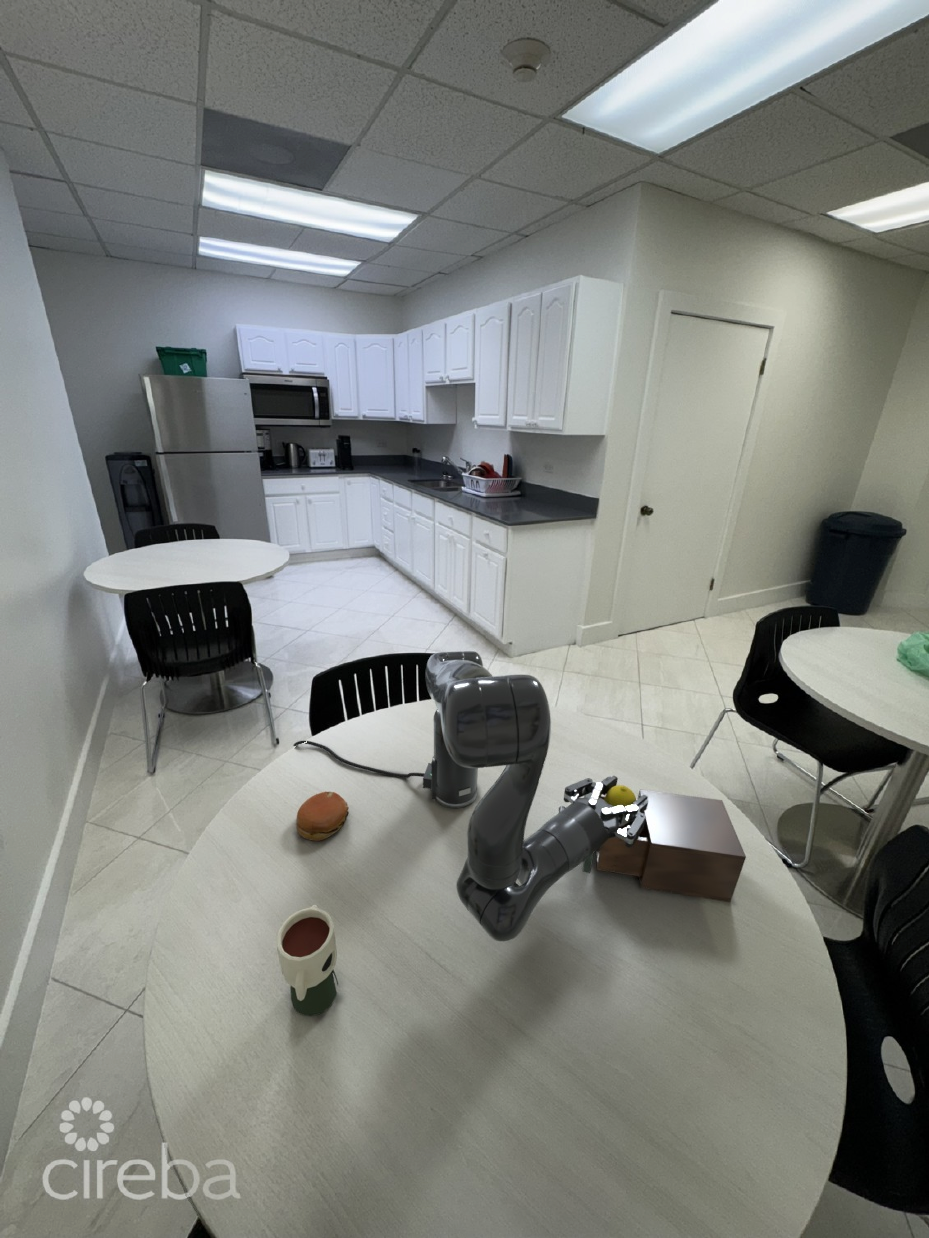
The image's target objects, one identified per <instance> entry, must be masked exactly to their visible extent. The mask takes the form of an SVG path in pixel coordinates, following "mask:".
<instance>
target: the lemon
mask: <svg viewBox="0 0 929 1238" xmlns="http://www.w3.org/2000/svg"><path fill="white" fill-rule="evenodd" d="M636 798H637V797H636V794H635V792H633V790H632V789H630V788H629V787H628V786H626V785H622V784H617V785H616V786H614V787H612V788H610V790H609V791H608V792H607V794H606V796H605V799H604V801H605V802H606V803H608V804H610V805H612V806H613V807H616V806H620V805H623V806H624V807H625V806H629V805H632V804H633V803H634V802H635V801H636ZM628 823H629V822H628ZM626 824H627V823H626Z"/></svg>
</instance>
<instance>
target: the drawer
mask: <svg viewBox="0 0 929 1238" xmlns="http://www.w3.org/2000/svg"><path fill="white" fill-rule="evenodd" d="M591 794H592V793H589V794H587V795H584V796H583V798H590V797H591ZM605 796H606V795H603V794H602V795H601V798H602V799H603V800H604V799H605ZM637 799H638V797H636V800H637ZM565 808H566V807H565V806H564V805H561V806H559V807H558V813H559V812H561V811H562V810H564V809H565ZM633 822H634V821H632V822H629V823H627V824H625V825H624V826H621V827H619V829H624V828H626V827H627V826H631V825H632V823H633ZM649 844H650V842H649V837H648V832H647V828H646V823H644V828H643V830H642V831H641V833H640V835H639V836H638V838H637V840H636V841H635V843H634V845H633V847H631V848H628V847H626V846H625V841H624V840H622V839H620V838H618V837H617V836H616V837H614V838H609V839H608V840H607V841H606V842H605V843H604V844H603V845H602V846H601V847H599V848H598V849H597V850H596V851H595V858H596V859H595V860H596V868H597V869H596V870H598V871H603V872H610V873H616V874H623V875H629V876H636V877H639V876H641V877H642V874H643V870H644V865H645V861H646V857H647V852H648V848H649ZM593 857H594V852H593V853H592V854H591V855H590V856H589V857H588V858H587V859H586V860H585V861H584V862H582V863H581V865H582V872H583V873H587V874H590V873H591V869H592V862H593Z"/></svg>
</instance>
